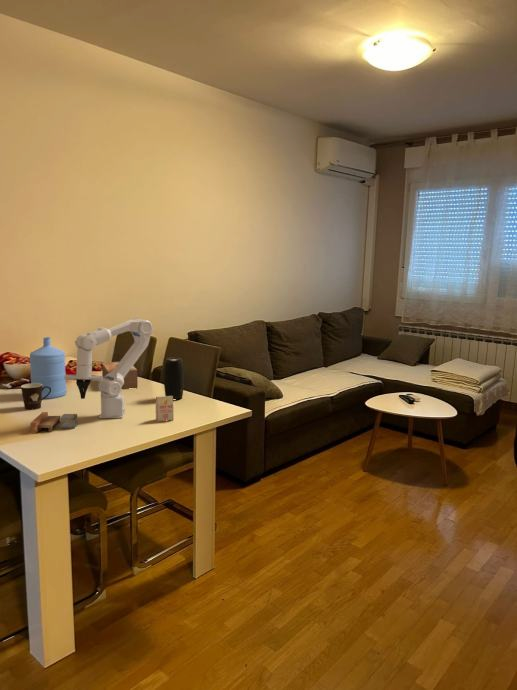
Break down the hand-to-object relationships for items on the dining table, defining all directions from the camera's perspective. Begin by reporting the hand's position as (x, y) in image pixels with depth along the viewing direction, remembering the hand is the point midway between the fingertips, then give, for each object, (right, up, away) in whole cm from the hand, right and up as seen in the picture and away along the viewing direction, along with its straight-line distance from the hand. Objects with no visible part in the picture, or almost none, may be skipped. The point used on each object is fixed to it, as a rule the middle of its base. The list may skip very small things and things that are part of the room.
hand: (82, 398), depth 200 cm
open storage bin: (-3, -11, -6) cm, 13 cm away
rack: (-12, -10, -7) cm, 17 cm away
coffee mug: (-27, -6, +19) cm, 34 cm away
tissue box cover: (-4, 0, +66) cm, 66 cm away
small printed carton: (+32, -10, +5) cm, 34 cm away
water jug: (-31, -3, +41) cm, 51 cm away
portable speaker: (+30, -5, +39) cm, 49 cm away
